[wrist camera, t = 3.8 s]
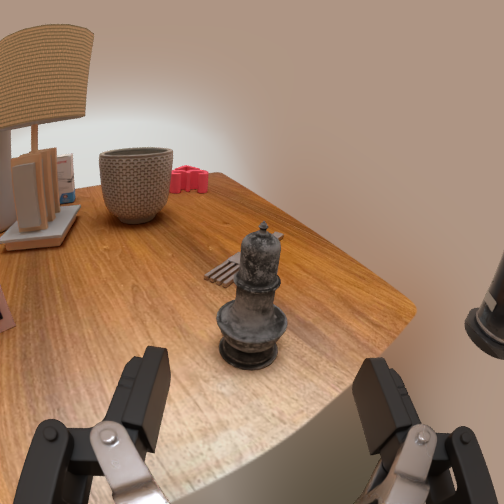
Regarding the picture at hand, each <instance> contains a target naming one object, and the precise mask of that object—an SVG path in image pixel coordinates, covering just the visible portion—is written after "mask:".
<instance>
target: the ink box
mask: <svg viewBox="0 0 504 504" xmlns="http://www.w3.org/2000/svg"><path fill="white" fill-rule="evenodd" d="M57 175H58V189H59V200H60V204H64V203H71V202H74V200H75V186H74V172H73V154H65V155H59V156H57Z"/></svg>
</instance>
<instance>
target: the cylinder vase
mask: <svg viewBox="0 0 504 504" xmlns="http://www.w3.org/2000/svg"><path fill="white" fill-rule="evenodd" d="M16 221H17V216H16V209H15V202H14V194H13V185H12V174H11V130H7V131H2V132H0V232H3V231H5V230H6V229H8V228H10V227H11V226H12V225H13V224H14V223H15V222H16Z"/></svg>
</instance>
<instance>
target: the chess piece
mask: <svg viewBox="0 0 504 504" xmlns="http://www.w3.org/2000/svg"><path fill="white" fill-rule="evenodd" d="M259 228H260V230H259V231H257V232H253V233H250V234H248V235H247V236H246V237H245V238H244V239H243V241H242V244H241V255H240V266H239V271H237V272H236V273H235V274H234V277H233V280H234V283H235V284H236V285H237V289H236V299H235V300H232V301H230V302H227V303H226V304H225V305H223V306H222V307H221V308H220V309H219V311H218V313H217V317H216V319H217V324H218V326H219V328H220V329H221V333H222V334H223V338H222V339H221V341H220V344H219V351H220V354H221V356H222V357H223V359H224V360H225V361H226V362H227V363H229V364H230V365H232V366H234V367H237V368H240V369H244V370H257V369H261V368H264V367H267V366H268V365H270V364H271V363H272V362H273V361H274V360H275V359H276V356H277V353H278V350H277V345H276V342H277V340H278V339H279V338H280V337H281V336H282V335H283V333H284V332H285V331H286V328H287V318H286V316H285V314H284V313H283V312H282V310H281V309H280V308H278V307H277V306H275V305H274V304H273V301H274V295H275V290H276V289H277V288H278V287H279V286H280V284H281V280H280V278H279V276H278V275H277V271H278V264H279V258H280V251H281V245H280V242H279V240H278V238H277V237H275V236H274V235H273V234H271V233H269V232H267V231H266V229H267V228H268V226H267V224H266V223H265V221H263V223H261V225H259Z"/></svg>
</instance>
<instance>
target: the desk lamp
mask: <svg viewBox="0 0 504 504" xmlns="http://www.w3.org/2000/svg"><path fill="white" fill-rule="evenodd" d="M93 40H94V33H92V32H91V31H90V30H88V29H87V28H83V27H79V26H74V25H69V24H61V25H60V24H51V25H41V26H36V27H31V28H26V29H23V30H20V31H18V32H15V33H13V34H11V35H8V36H6V37H5V38H3V39H2V40H1V41H0V132H2V131H7V130H12V129H17V128H22V127H27V126H31V152H29V153H27V154H23V155H20V156H19V157H18V158H12V159H11V174H12V185H13V194H14V202H15V209H16V216H17V221H16V222H15V223H14V224H13V225H12V226H11V227H10V228H9V229H8V230H7V231H6V232H5V233H4V234H3V235H2V236H1V237H0V244H2V243H5V246H6V250H7V251H10V250H20V249H30V248H41V247H52V246H60V245H61V243H62V242H63V240H64V238H65V236H66V235H67V233H68V231H69V229H70V228H71V226H72V224H73V223H74V221H75V219H76V214H77V212H78V211H79V209H80V208H81V205H73V206H63V207H60V200H59V189H58V175H57V151H56V148H49V149H43V150H38V125H39V124H45V123H51V122H57V121H63V120H68V119H75V118H81V117H83V116H85V109H86V108H85V107H86V94H87V83H88V74H89V66H90V58H91V52H92V46H93Z"/></svg>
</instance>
